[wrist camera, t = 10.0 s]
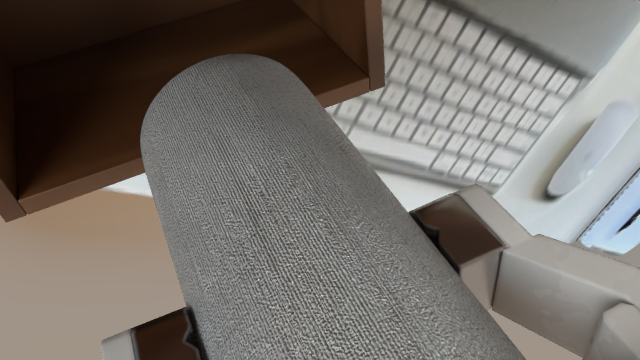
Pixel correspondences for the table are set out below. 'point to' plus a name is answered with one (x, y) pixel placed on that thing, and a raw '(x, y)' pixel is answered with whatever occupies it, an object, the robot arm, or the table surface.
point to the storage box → (148, 76)
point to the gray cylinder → (295, 230)
